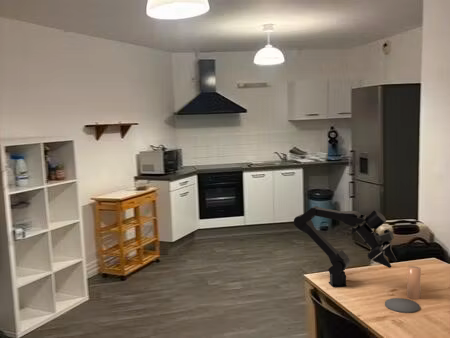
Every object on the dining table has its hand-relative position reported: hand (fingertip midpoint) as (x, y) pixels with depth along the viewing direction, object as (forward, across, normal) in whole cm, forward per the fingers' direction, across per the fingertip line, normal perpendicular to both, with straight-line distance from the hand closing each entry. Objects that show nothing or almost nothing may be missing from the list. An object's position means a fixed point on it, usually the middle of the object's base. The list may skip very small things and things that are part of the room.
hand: (393, 264), depth 192 cm
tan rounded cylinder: (+15, +1, +3) cm, 15 cm away
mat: (+14, -12, +4) cm, 19 cm away
